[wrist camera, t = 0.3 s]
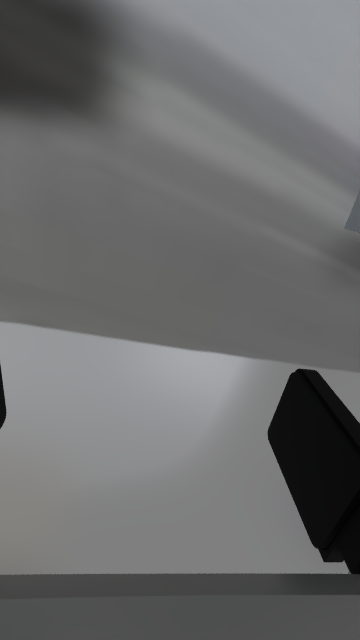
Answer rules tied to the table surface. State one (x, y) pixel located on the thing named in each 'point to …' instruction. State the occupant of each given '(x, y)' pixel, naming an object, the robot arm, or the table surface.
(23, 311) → the table surface
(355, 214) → the bin
